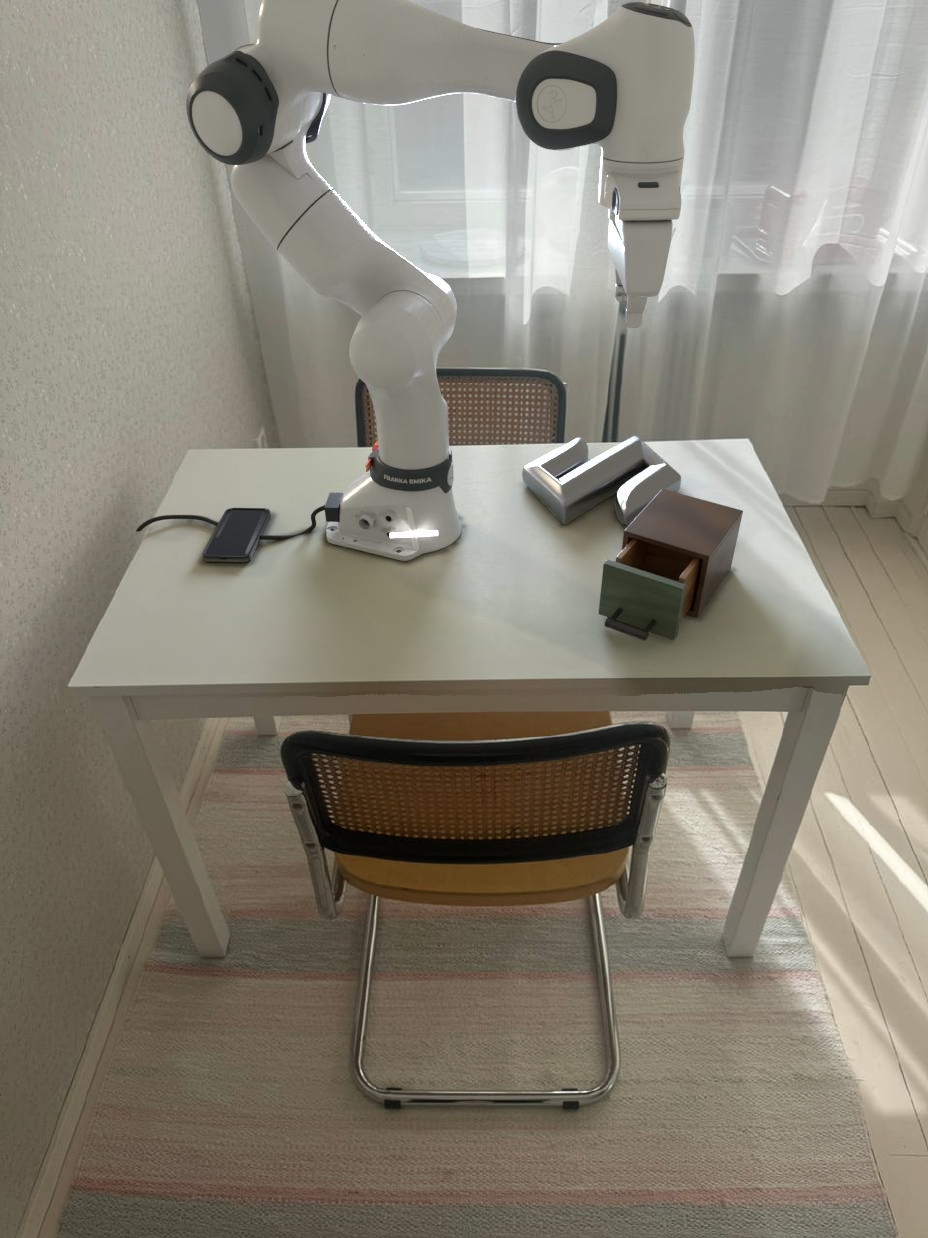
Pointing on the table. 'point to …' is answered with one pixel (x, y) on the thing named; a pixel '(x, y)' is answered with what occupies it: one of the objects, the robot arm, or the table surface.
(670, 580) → the green drawer
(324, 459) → the table surface
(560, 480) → the emblem
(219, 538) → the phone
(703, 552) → the cabinet
